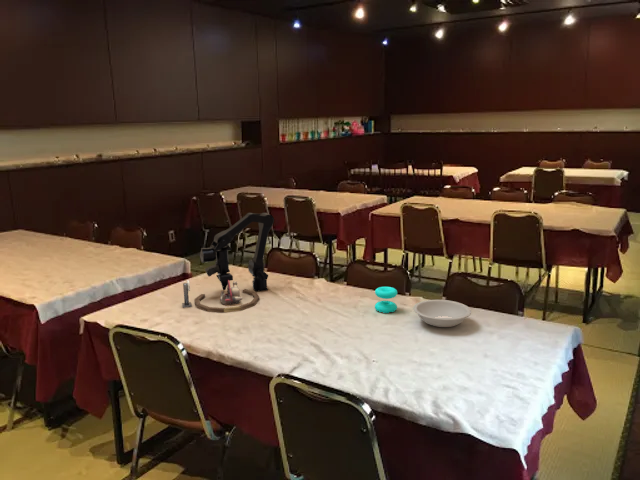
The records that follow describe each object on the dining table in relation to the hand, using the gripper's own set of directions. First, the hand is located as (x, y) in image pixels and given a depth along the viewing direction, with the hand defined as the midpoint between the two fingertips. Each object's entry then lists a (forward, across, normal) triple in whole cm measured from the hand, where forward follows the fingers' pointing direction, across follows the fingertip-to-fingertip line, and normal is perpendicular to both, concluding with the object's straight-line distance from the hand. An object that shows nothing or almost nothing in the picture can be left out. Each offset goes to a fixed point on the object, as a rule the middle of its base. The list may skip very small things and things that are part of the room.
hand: (224, 289), depth 270 cm
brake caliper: (+3, +11, +1) cm, 11 cm away
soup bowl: (+3, +71, +80) cm, 107 cm away
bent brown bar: (+3, +11, 0) cm, 11 cm away
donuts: (+3, +48, +65) cm, 81 cm away
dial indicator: (+3, +8, -19) cm, 21 cm away
